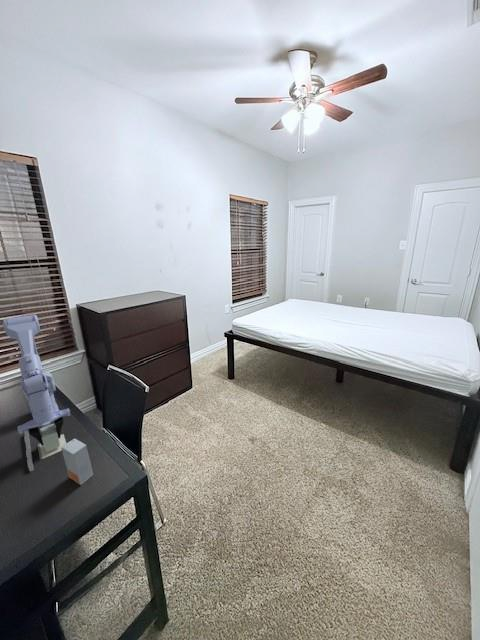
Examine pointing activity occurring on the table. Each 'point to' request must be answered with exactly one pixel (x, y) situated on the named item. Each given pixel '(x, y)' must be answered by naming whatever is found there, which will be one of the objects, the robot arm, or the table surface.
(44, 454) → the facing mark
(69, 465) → the skincare box
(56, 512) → the table surface
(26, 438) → the rail
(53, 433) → the sage carton
